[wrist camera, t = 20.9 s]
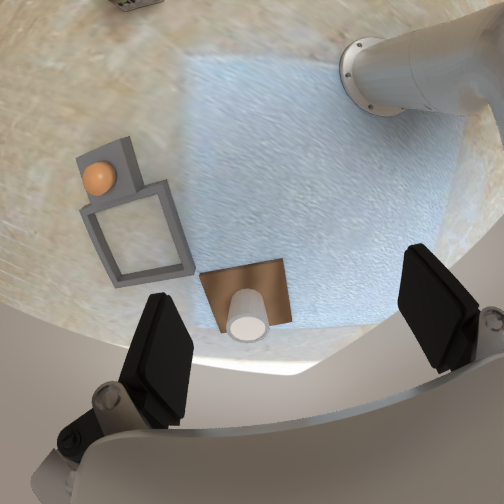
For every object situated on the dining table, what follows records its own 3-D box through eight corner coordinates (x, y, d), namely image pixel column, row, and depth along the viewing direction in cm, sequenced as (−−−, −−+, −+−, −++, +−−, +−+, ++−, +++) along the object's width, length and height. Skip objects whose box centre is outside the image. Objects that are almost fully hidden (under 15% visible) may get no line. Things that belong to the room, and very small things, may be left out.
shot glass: (274, 301, 48) (278, 329, 42) (245, 320, 50) (246, 349, 44) (248, 278, 46) (249, 306, 40) (219, 300, 48) (216, 328, 42)
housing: (152, 127, 34) (144, 130, 31) (195, 267, 45) (192, 279, 42) (70, 161, 35) (58, 166, 32) (119, 281, 46) (112, 292, 43)
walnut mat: (282, 258, 45) (283, 260, 44) (291, 318, 52) (292, 321, 51) (199, 273, 46) (199, 276, 45) (221, 330, 53) (221, 333, 52)
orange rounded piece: (117, 153, 33) (103, 159, 30) (126, 181, 35) (113, 190, 32) (93, 162, 34) (78, 170, 30) (102, 189, 36) (88, 199, 32)
